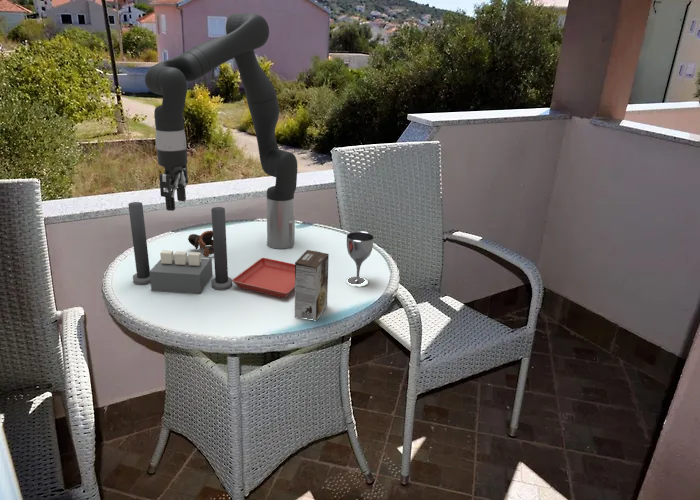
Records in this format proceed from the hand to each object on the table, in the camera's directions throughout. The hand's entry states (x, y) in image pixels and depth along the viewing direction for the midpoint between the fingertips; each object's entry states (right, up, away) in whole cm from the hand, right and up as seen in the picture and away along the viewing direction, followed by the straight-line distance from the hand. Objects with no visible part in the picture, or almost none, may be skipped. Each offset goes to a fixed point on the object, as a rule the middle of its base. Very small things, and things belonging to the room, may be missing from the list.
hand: (176, 205), depth 142 cm
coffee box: (+37, -29, -3) cm, 47 cm away
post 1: (-13, -21, +9) cm, 26 cm away
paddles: (-1, -16, +7) cm, 17 cm away
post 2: (+10, -23, +9) cm, 27 cm away
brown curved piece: (0, -13, +31) cm, 34 cm away
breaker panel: (-1, -22, +9) cm, 24 cm away
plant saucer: (+25, -23, +13) cm, 36 cm away
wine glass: (+50, -22, +16) cm, 57 cm away
